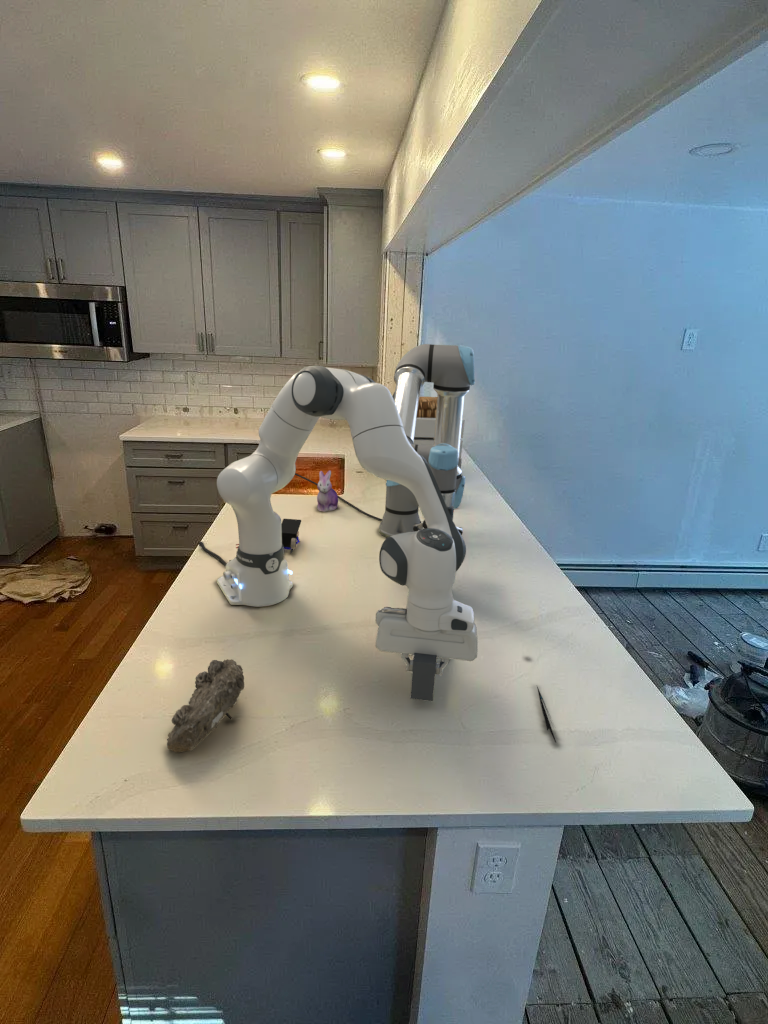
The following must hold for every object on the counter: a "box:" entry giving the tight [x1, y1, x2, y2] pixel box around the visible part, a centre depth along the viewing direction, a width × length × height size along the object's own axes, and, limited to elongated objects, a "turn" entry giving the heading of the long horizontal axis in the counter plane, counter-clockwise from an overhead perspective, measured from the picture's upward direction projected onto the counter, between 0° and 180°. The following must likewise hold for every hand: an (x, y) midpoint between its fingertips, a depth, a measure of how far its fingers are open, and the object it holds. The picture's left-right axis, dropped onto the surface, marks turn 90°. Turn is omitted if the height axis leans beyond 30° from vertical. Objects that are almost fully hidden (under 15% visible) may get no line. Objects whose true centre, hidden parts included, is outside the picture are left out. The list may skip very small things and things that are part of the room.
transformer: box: [392, 391, 465, 470], centre depth 268 cm, size 34×33×41 cm
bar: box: [409, 653, 438, 702], centre depth 136 cm, size 55×4×9 cm, turn 173°
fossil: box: [166, 658, 245, 754], centre depth 106 cm, size 22×10×15 cm
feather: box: [527, 657, 557, 743], centre depth 118 cm, size 2×28×2 cm
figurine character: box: [281, 518, 302, 554], centre depth 184 cm, size 7×8×15 cm
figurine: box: [316, 469, 339, 512], centre depth 219 cm, size 9×10×15 cm
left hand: (424, 671), depth 115 cm, fingers closed on bar, 4 cm apart
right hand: (433, 583), depth 158 cm, fingers closed on bar, 4 cm apart
